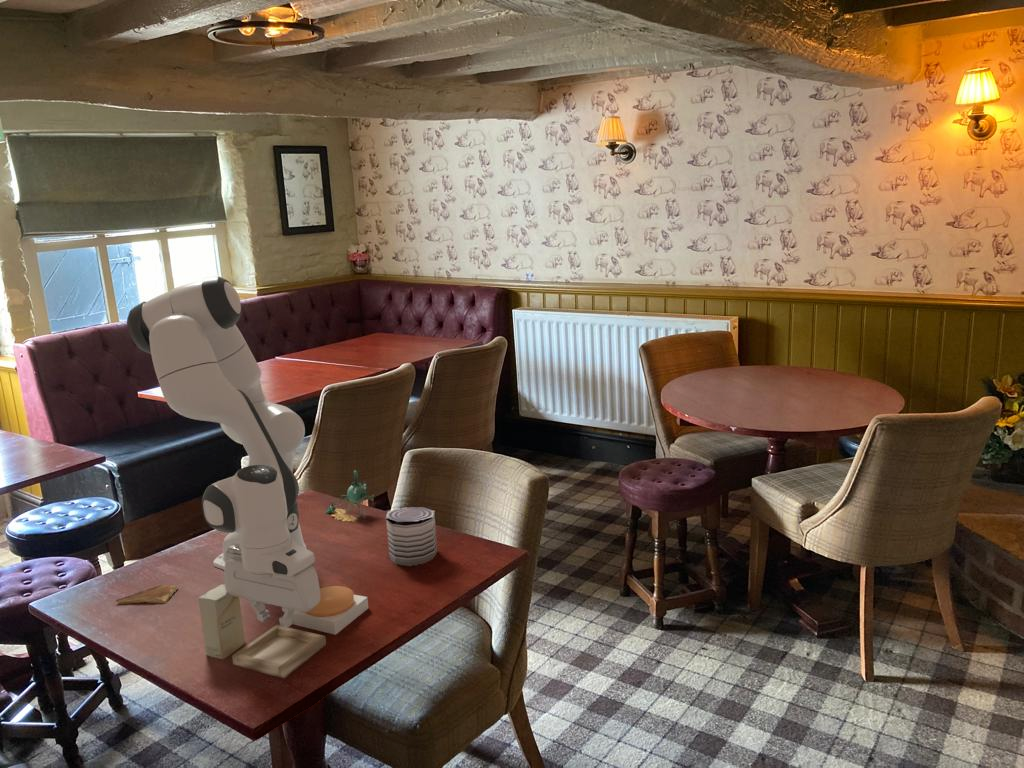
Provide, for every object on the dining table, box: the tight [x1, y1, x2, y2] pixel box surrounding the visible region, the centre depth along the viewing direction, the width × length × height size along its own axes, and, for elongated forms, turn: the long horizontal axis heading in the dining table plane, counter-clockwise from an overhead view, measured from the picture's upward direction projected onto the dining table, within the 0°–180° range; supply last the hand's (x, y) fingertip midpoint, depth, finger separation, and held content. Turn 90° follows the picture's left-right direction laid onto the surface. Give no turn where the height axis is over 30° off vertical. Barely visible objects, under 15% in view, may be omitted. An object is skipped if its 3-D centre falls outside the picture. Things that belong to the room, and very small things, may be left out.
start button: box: [306, 585, 355, 617], centre depth 167 cm, size 10×10×2 cm
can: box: [384, 506, 438, 567], centre depth 192 cm, size 11×11×12 cm
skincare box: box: [198, 583, 246, 660], centre depth 156 cm, size 6×4×12 cm
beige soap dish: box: [231, 624, 327, 680], centre depth 154 cm, size 12×12×2 cm
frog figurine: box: [324, 470, 375, 523], centre depth 218 cm, size 10×18×15 cm, turn 60°
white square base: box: [292, 594, 369, 636], centre depth 167 cm, size 11×11×3 cm
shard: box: [115, 584, 179, 605], centre depth 179 cm, size 11×8×2 cm
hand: (275, 622), depth 153 cm, fingers open, 4 cm apart
